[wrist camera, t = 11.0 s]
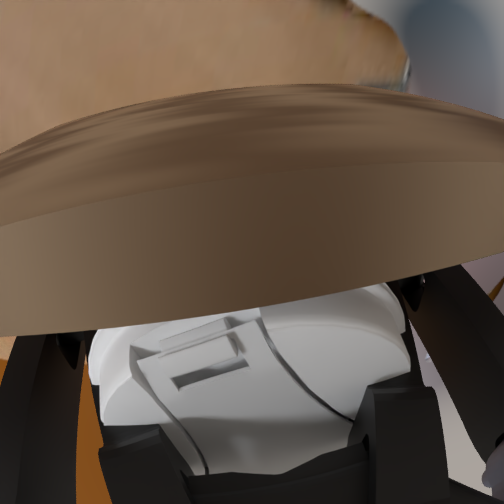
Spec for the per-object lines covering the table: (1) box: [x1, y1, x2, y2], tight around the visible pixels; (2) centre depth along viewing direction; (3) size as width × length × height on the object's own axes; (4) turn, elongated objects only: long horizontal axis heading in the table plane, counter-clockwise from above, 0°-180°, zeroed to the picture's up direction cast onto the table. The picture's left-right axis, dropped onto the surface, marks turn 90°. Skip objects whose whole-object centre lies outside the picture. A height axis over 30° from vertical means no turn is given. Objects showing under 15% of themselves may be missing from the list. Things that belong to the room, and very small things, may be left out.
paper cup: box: [88, 283, 411, 475], centre depth 12 cm, size 8×8×14 cm
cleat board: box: [0, 84, 504, 337], centre depth 15 cm, size 22×13×20 cm, turn 94°
